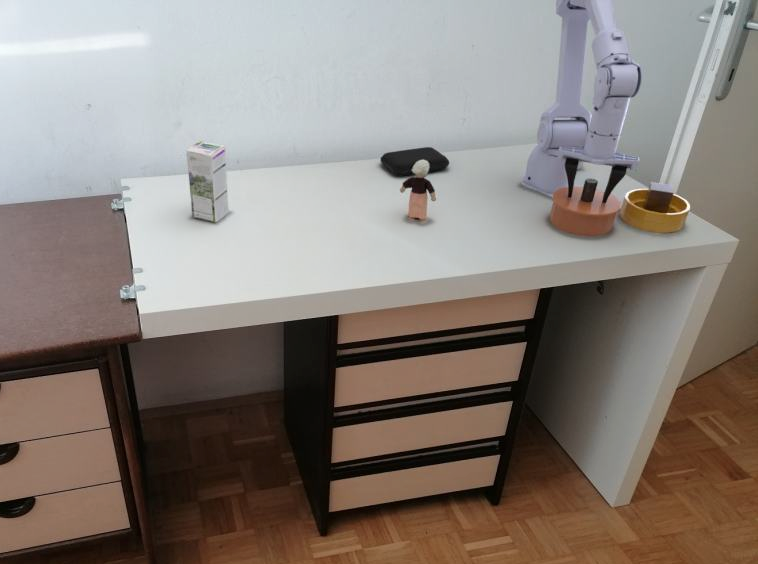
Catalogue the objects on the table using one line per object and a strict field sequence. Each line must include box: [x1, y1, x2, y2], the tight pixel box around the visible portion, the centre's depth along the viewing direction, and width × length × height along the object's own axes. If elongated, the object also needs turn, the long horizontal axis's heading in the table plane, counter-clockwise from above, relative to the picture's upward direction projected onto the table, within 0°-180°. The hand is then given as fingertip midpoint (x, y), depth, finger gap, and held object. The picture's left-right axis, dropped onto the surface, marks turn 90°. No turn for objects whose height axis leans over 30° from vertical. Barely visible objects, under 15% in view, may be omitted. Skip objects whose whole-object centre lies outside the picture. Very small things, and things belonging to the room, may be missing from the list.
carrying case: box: [379, 146, 450, 177], centre depth 171 cm, size 11×3×15 cm
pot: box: [549, 201, 617, 237], centre depth 146 cm, size 12×12×5 cm
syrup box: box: [186, 141, 230, 223], centre depth 145 cm, size 6×6×14 cm
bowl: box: [619, 188, 691, 234], centre depth 148 cm, size 12×12×4 cm
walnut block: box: [643, 181, 674, 213], centre depth 147 cm, size 4×4×7 cm
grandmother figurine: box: [399, 160, 437, 222], centre depth 145 cm, size 8×4×13 cm, turn 71°
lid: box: [551, 178, 622, 217], centre depth 144 cm, size 13×13×5 cm
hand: (586, 198), depth 144 cm, fingers open, 6 cm apart
